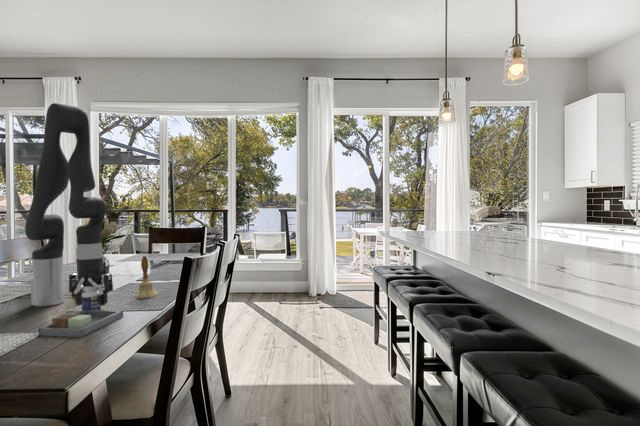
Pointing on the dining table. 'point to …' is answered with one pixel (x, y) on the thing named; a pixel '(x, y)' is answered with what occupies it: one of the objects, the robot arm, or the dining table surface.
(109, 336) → the dining table surface
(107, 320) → the parts tray
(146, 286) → the hand bell
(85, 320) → the sage block
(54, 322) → the walnut block
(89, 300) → the pill bottle
